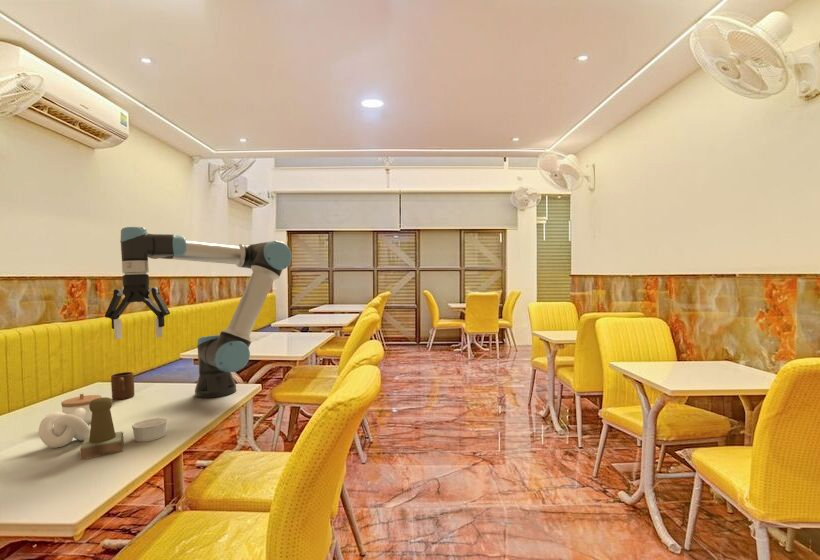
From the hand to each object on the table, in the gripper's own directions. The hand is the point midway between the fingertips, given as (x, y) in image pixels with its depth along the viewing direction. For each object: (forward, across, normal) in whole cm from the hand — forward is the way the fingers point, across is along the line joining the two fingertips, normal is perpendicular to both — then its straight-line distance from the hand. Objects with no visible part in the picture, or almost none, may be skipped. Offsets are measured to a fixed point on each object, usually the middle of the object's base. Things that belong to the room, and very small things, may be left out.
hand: (138, 337), depth 151 cm
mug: (+27, -24, +27) cm, 45 cm away
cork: (+24, +6, -28) cm, 38 cm away
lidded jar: (+27, -18, -2) cm, 33 cm away
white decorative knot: (+27, -8, -21) cm, 35 cm away
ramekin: (+27, +14, -19) cm, 36 cm away
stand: (+27, +6, -28) cm, 39 cm away
